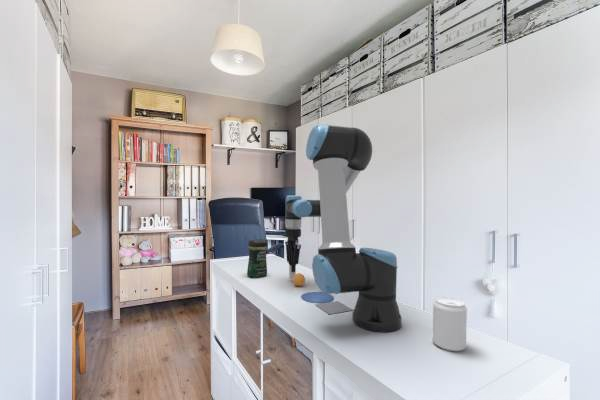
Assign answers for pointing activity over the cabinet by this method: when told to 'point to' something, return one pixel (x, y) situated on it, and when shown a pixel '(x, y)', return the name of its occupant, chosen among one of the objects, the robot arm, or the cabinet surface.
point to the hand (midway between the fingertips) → (292, 278)
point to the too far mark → (333, 307)
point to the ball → (298, 279)
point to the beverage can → (449, 323)
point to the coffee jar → (257, 258)
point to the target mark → (317, 297)
